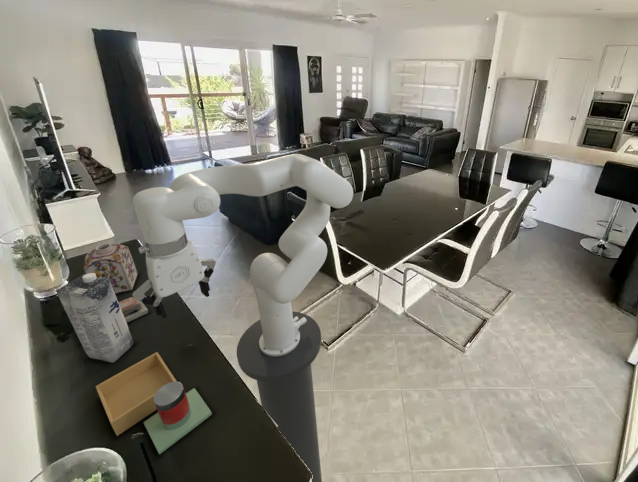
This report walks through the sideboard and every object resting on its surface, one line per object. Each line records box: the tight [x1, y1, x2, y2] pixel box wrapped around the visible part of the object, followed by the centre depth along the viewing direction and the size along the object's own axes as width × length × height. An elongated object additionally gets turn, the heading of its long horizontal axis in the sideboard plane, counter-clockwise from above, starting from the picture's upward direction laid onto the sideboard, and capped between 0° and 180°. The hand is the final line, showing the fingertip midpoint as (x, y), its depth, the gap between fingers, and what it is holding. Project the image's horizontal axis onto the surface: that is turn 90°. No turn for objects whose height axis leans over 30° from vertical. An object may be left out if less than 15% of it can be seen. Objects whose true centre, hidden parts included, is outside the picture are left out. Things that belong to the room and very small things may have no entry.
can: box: [154, 381, 191, 430], centre depth 78 cm, size 6×6×9 cm
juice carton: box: [55, 273, 134, 363], centre depth 93 cm, size 9×10×27 cm
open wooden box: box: [95, 351, 178, 437], centre depth 84 cm, size 14×14×5 cm
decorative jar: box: [83, 243, 139, 295], centre depth 123 cm, size 12×12×18 cm
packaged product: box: [118, 296, 149, 324], centre depth 109 cm, size 18×5×10 cm
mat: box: [143, 387, 213, 455], centre depth 80 cm, size 12×10×1 cm
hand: (185, 304), depth 77 cm, fingers open, 9 cm apart
